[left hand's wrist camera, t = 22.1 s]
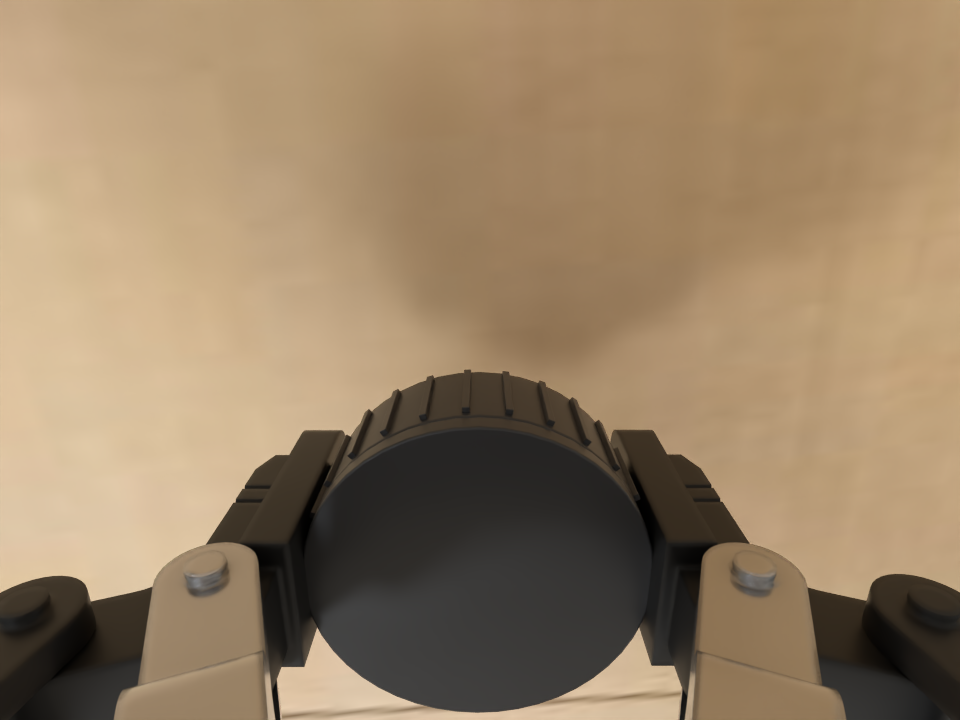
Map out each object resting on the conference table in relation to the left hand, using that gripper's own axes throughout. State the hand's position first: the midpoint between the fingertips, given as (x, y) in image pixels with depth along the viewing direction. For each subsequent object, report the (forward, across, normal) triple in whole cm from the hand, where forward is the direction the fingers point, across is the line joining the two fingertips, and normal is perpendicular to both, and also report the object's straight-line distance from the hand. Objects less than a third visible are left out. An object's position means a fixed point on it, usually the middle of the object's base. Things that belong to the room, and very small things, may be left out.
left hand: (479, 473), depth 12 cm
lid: (-3, 0, 0) cm, 3 cm away
